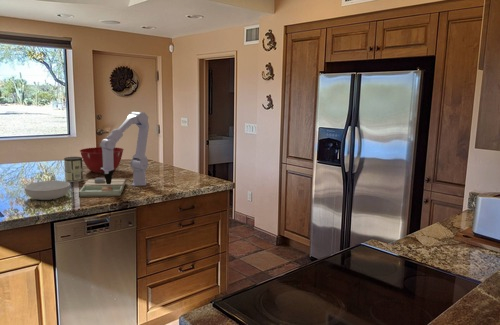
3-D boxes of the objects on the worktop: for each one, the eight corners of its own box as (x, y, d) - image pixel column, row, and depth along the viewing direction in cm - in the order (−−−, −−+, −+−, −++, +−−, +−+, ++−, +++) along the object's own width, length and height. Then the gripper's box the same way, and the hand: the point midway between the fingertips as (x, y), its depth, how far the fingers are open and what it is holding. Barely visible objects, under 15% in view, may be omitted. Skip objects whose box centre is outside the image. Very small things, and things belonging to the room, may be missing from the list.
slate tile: (96, 181, 227) (95, 177, 227) (105, 180, 228) (104, 177, 228) (94, 183, 222) (94, 179, 222) (103, 182, 223) (103, 179, 223)
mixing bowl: (71, 173, 257) (70, 151, 255) (95, 166, 285) (95, 145, 282) (110, 177, 252) (109, 153, 250) (131, 169, 280) (130, 148, 277)
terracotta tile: (101, 189, 210) (101, 192, 210) (111, 189, 211) (111, 192, 211) (103, 186, 215) (103, 190, 215) (112, 186, 216) (112, 190, 216)
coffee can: (73, 177, 246) (72, 156, 244) (86, 179, 243) (85, 157, 241) (61, 181, 236) (60, 158, 234) (75, 182, 234) (74, 159, 231)
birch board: (88, 183, 232) (88, 179, 231) (125, 183, 236) (125, 178, 236) (83, 190, 216) (83, 185, 216) (122, 189, 221) (122, 184, 220)
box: (83, 190, 216) (83, 186, 216) (122, 189, 221) (122, 185, 220) (78, 196, 204) (78, 191, 203) (120, 195, 208) (120, 191, 208)
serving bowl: (17, 198, 197) (16, 185, 195) (56, 190, 214) (56, 178, 213) (38, 206, 185) (38, 192, 184) (78, 197, 203) (78, 184, 201)
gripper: (102, 158, 222) (103, 181, 224) (98, 162, 208) (99, 187, 211) (115, 158, 224) (115, 180, 226) (112, 162, 210) (112, 186, 212)
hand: (108, 183), depth 218 cm, fingers closed
